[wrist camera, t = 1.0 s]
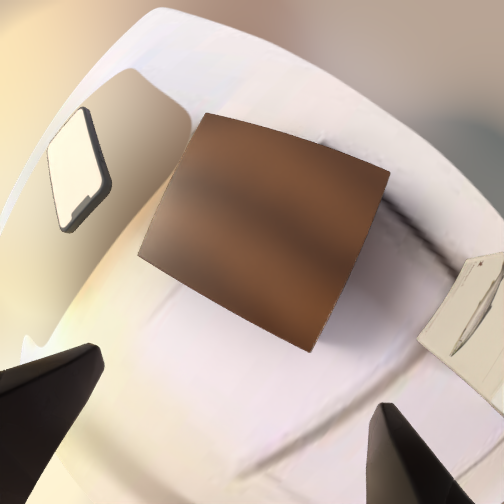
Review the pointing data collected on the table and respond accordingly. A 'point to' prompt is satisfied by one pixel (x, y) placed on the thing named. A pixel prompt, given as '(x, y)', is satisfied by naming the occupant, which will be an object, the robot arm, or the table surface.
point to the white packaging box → (473, 328)
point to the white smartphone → (77, 171)
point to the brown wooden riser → (265, 224)
